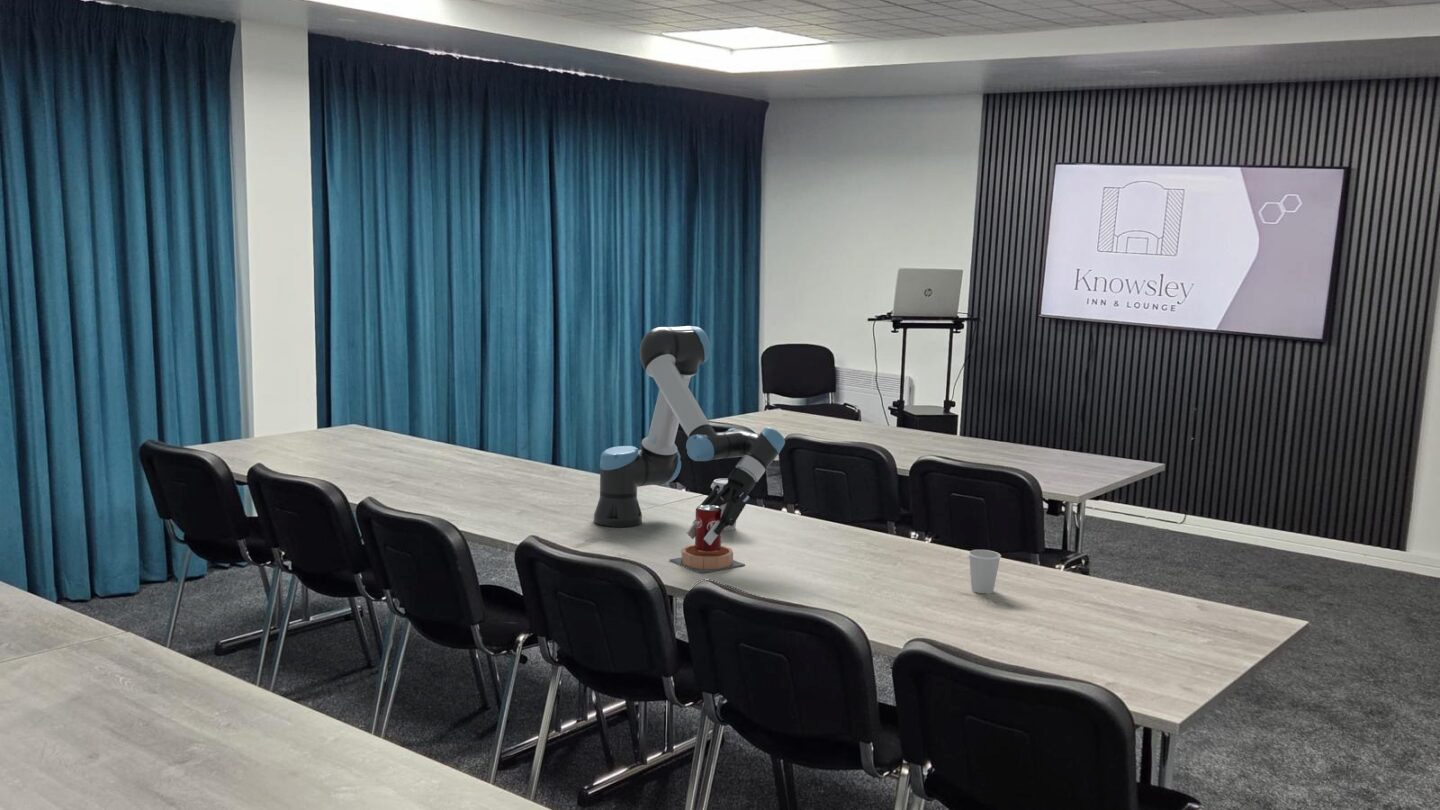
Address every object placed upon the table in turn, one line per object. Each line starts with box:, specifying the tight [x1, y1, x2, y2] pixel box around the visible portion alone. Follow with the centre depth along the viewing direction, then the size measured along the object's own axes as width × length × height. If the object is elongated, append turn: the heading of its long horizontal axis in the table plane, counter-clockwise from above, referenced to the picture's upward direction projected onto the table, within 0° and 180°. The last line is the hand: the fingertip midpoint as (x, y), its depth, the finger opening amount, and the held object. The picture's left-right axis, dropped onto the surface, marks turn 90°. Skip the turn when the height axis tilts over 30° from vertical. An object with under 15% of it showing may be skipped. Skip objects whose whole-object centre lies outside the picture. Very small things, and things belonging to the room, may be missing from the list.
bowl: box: [668, 544, 746, 575], centre depth 329 cm, size 15×15×4 cm
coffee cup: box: [710, 478, 737, 532], centre depth 369 cm, size 10×10×15 cm
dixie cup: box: [968, 549, 1002, 595], centre depth 311 cm, size 8×8×10 cm
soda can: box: [694, 504, 722, 553], centre depth 328 cm, size 7×7×12 cm
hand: (698, 538), depth 326 cm, fingers closed on soda can, 7 cm apart
